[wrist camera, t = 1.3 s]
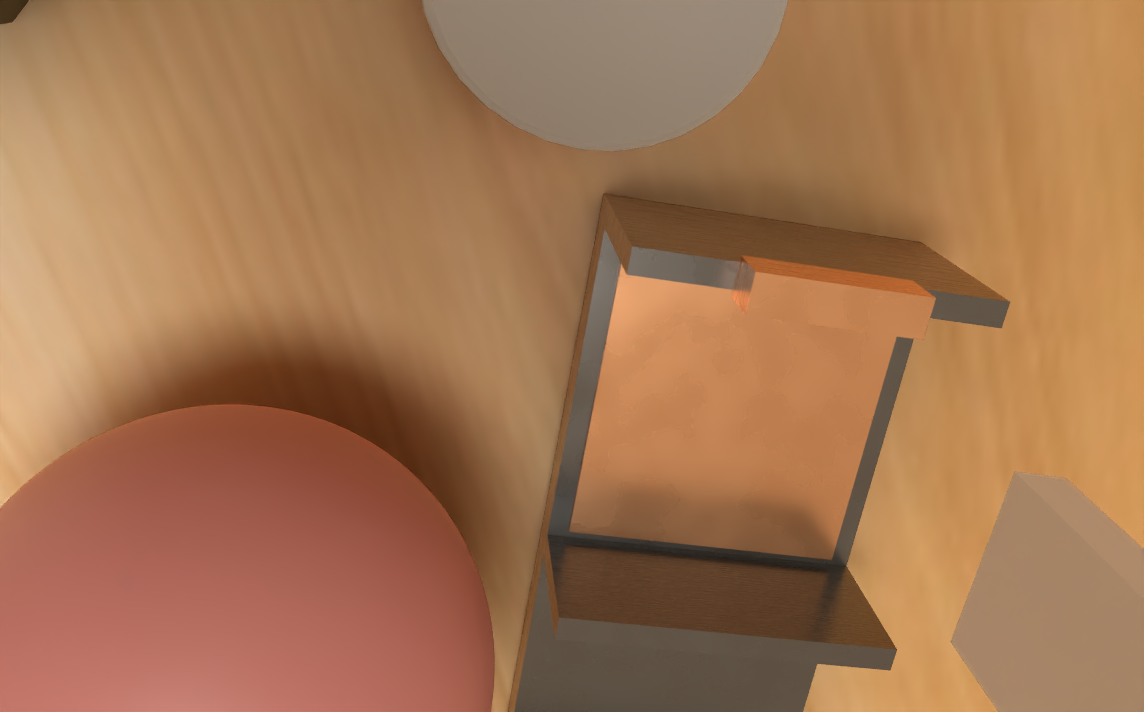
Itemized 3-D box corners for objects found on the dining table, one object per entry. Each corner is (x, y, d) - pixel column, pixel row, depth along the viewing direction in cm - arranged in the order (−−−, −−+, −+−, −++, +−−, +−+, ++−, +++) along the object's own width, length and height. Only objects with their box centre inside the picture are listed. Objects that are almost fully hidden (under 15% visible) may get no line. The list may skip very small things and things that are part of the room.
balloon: (-172, 487, 37) (-581, 839, 22) (376, 260, 36) (317, 477, 21) (73, 811, 42) (-127, 1259, 28) (552, 623, 41) (600, 988, 27)
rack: (604, 187, 35) (642, 255, 28) (922, 236, 37) (1039, 313, 29) (493, 790, 44) (499, 968, 36) (756, 808, 45) (815, 982, 38)
